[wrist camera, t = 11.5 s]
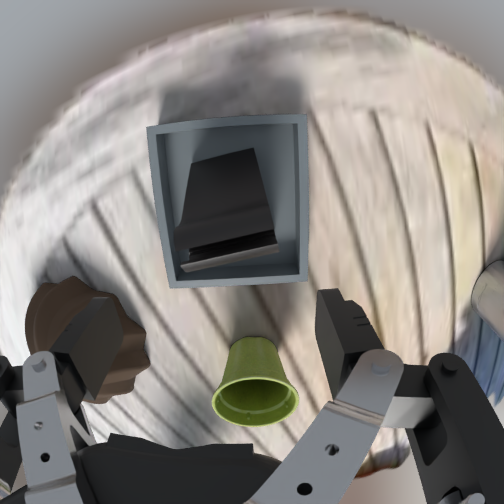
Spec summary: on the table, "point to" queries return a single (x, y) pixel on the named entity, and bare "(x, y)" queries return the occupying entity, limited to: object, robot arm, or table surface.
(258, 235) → the phone stand
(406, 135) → the table surface
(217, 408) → the plant pot
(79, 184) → the table surface
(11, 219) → the table surface
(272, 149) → the tray
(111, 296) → the decorative dome
